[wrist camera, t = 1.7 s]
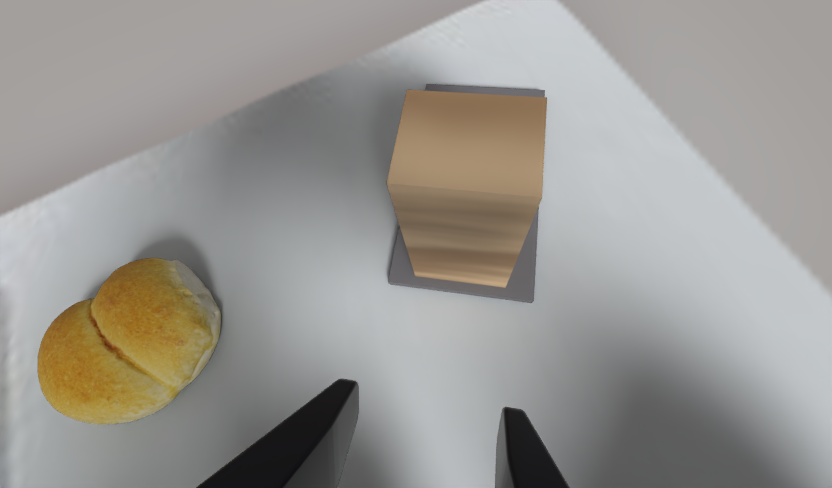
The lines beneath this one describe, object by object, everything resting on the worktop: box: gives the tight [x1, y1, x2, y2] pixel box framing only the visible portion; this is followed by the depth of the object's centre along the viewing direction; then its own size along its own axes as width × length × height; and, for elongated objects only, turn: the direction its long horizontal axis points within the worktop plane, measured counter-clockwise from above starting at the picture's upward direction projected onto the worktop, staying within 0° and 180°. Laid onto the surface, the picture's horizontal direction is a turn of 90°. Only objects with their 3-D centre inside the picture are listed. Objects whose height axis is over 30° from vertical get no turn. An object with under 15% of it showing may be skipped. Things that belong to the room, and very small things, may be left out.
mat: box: [388, 84, 545, 303], centre depth 25 cm, size 14×8×1 cm, turn 172°
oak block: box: [387, 90, 547, 288], centre depth 18 cm, size 4×5×10 cm
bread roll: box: [38, 258, 221, 424], centre depth 21 cm, size 8×9×4 cm
